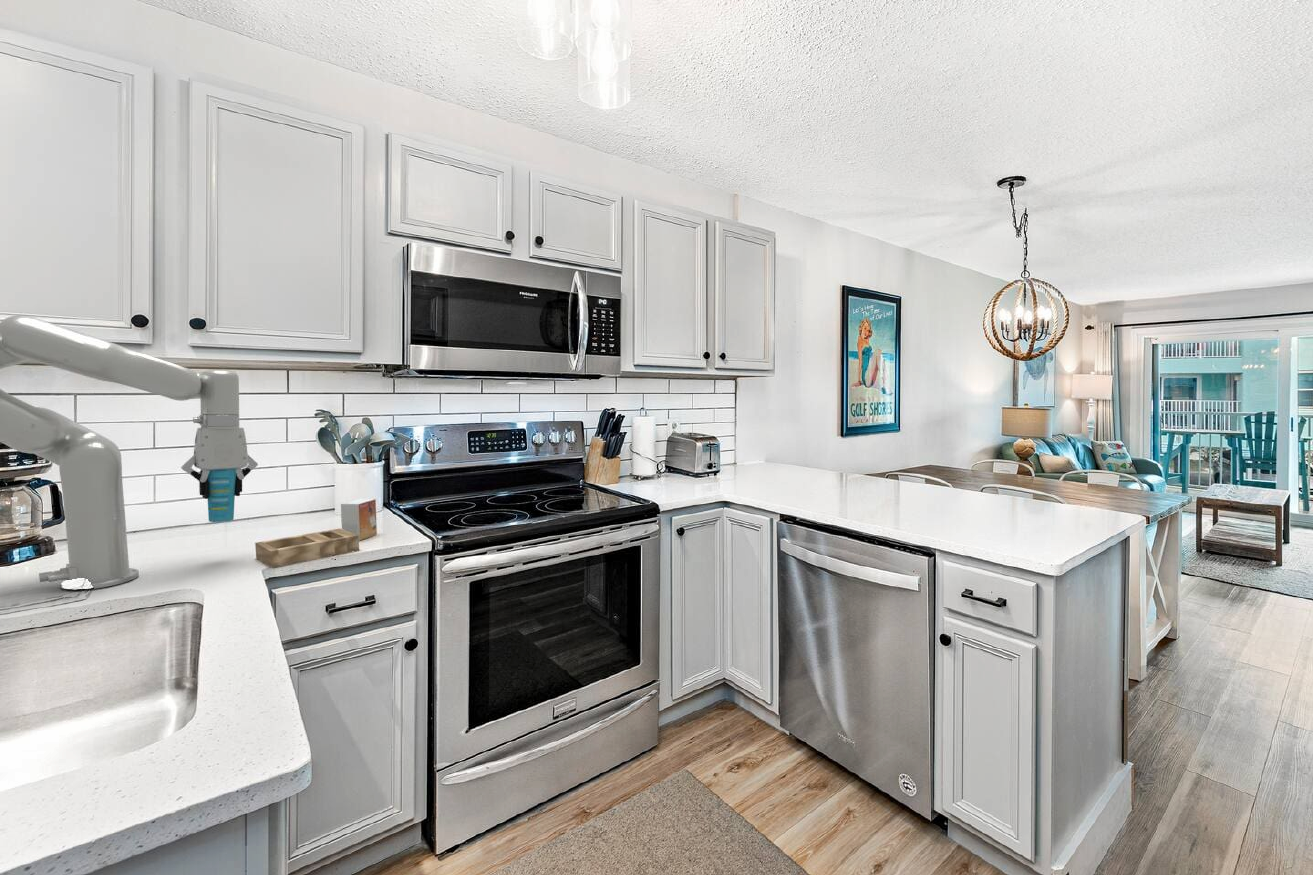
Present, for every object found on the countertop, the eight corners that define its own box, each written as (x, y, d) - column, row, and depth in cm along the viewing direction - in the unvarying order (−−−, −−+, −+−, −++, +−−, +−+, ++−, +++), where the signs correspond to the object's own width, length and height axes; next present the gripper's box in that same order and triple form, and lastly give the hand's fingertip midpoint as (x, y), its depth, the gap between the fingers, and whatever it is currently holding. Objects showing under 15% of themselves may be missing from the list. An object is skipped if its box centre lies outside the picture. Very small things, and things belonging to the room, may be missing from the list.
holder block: (272, 567, 141) (271, 551, 141) (256, 558, 149) (255, 542, 149) (359, 550, 156) (358, 535, 156) (340, 542, 164) (340, 528, 164)
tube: (201, 523, 141) (200, 442, 140) (203, 520, 145) (201, 441, 144) (240, 521, 145) (238, 442, 144) (240, 517, 149) (239, 441, 148)
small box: (359, 541, 165) (358, 504, 164) (341, 540, 166) (339, 503, 165) (377, 534, 173) (376, 498, 172) (360, 533, 174) (358, 498, 173)
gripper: (178, 423, 135) (180, 502, 136) (266, 422, 147) (267, 495, 149) (171, 421, 139) (173, 498, 140) (256, 421, 152) (257, 491, 153)
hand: (221, 495), depth 144 cm, fingers closed on tube, 5 cm apart
